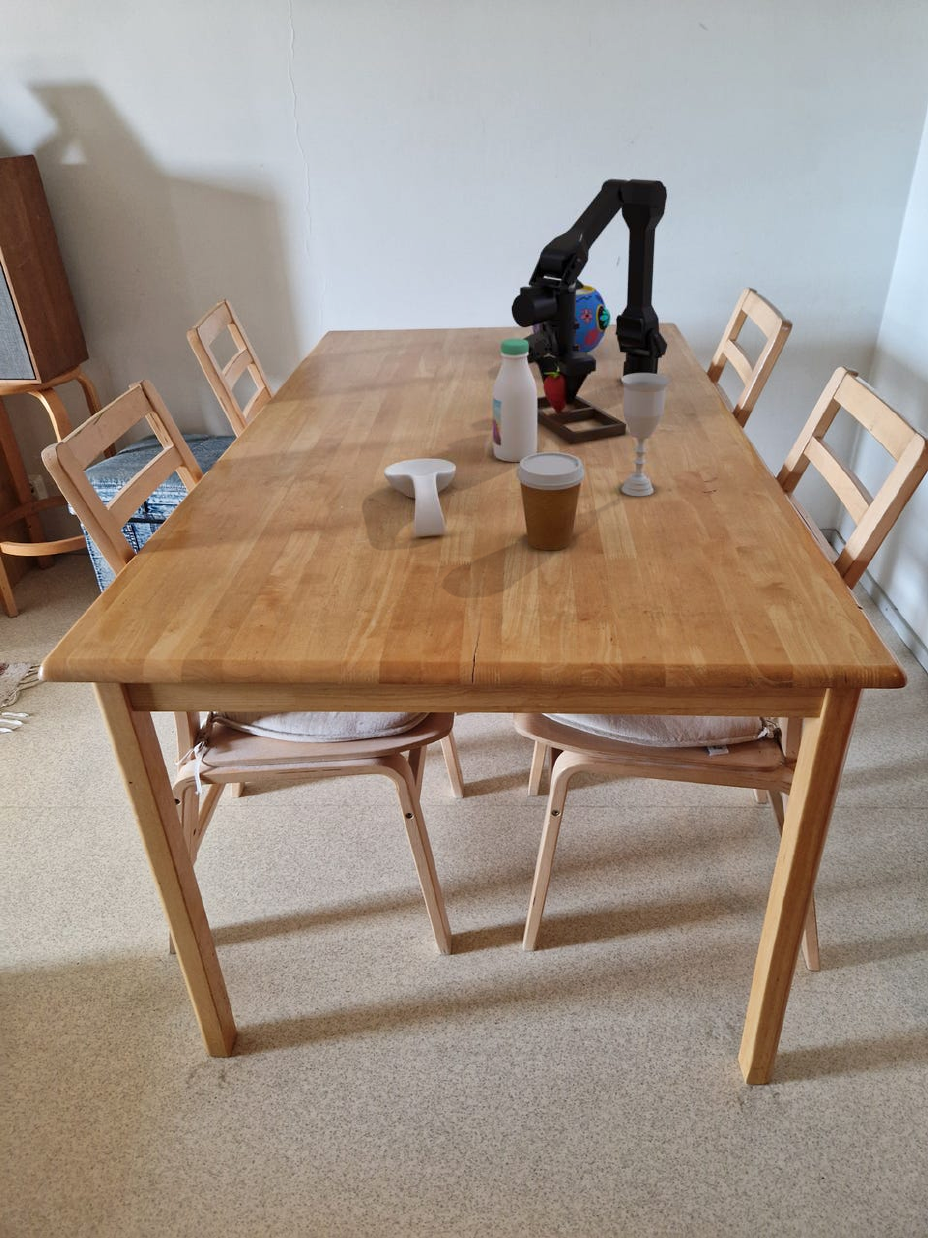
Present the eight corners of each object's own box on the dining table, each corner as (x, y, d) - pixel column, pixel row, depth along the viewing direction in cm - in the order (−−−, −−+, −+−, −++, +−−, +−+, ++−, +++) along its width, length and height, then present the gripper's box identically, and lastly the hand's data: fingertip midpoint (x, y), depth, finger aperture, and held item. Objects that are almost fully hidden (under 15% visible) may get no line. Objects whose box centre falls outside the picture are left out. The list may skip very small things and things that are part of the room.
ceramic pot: (610, 363, 206) (614, 295, 198) (533, 366, 206) (533, 298, 198) (601, 343, 221) (604, 279, 213) (529, 346, 221) (530, 282, 213)
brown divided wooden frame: (569, 401, 184) (570, 391, 183) (625, 434, 166) (626, 423, 165) (519, 409, 180) (519, 400, 179) (571, 444, 163) (571, 433, 162)
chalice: (663, 484, 146) (673, 374, 137) (657, 500, 141) (666, 387, 131) (618, 479, 148) (625, 371, 139) (610, 495, 143) (617, 384, 133)
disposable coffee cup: (564, 561, 124) (566, 481, 118) (504, 546, 129) (503, 468, 123) (593, 534, 131) (596, 457, 125) (535, 521, 136) (536, 446, 129)
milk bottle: (543, 450, 161) (544, 337, 150) (527, 465, 155) (527, 348, 145) (503, 445, 164) (502, 333, 153) (486, 459, 158) (484, 345, 147)
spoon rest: (383, 479, 152) (380, 439, 148) (452, 474, 153) (450, 433, 149) (392, 541, 132) (389, 496, 128) (471, 534, 133) (470, 489, 129)
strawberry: (545, 420, 174) (546, 369, 169) (540, 408, 181) (541, 358, 175) (575, 419, 174) (577, 367, 169) (569, 406, 181) (571, 357, 176)
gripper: (500, 312, 173) (501, 391, 181) (544, 333, 158) (543, 418, 166) (551, 305, 176) (550, 383, 184) (599, 325, 161) (595, 409, 169)
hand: (558, 398), depth 176 cm, fingers open, 8 cm apart
